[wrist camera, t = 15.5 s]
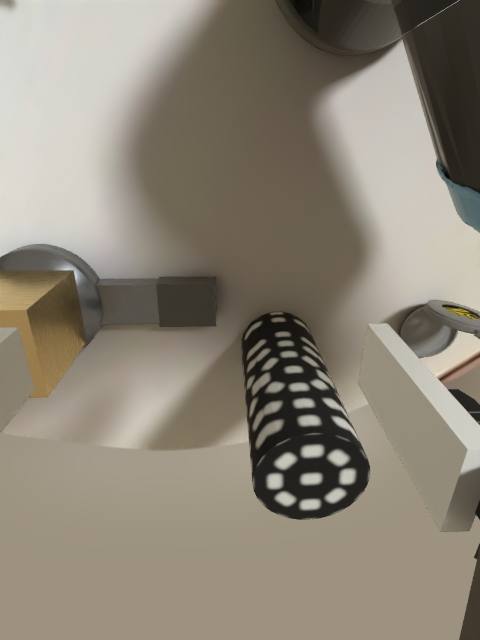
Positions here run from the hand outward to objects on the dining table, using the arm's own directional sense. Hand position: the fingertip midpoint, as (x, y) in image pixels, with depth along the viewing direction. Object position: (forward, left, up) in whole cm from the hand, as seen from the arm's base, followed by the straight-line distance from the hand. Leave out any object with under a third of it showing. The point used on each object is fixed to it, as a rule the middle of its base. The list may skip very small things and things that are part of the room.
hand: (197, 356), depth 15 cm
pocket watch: (+11, +25, -27) cm, 38 cm away
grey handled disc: (+8, -12, -27) cm, 30 cm away
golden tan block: (+8, -18, -24) cm, 31 cm away
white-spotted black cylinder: (+14, +7, -27) cm, 31 cm away
